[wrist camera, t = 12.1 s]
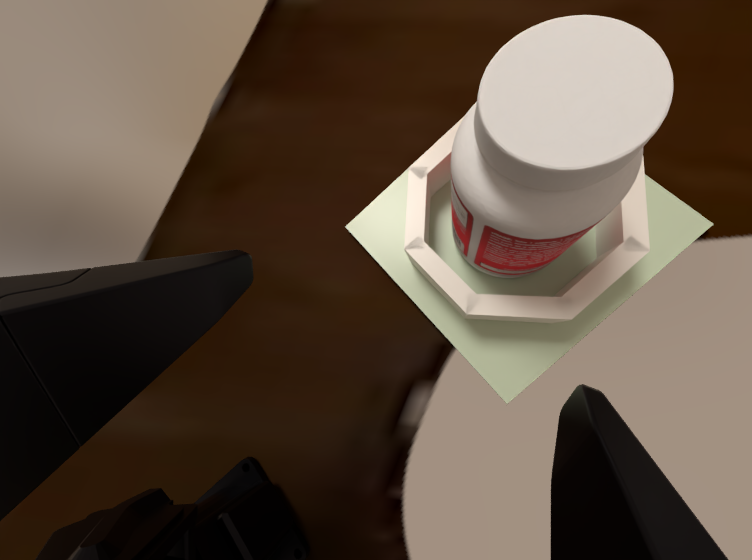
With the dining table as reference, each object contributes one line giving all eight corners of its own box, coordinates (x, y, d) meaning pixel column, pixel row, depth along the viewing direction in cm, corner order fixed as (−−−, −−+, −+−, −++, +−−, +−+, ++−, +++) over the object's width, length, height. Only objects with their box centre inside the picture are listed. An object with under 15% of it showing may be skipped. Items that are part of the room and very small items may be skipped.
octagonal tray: (505, 402, 18) (517, 416, 15) (348, 229, 22) (328, 208, 19) (705, 227, 18) (766, 199, 14) (506, 82, 22) (517, 33, 18)
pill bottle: (589, 225, 18) (779, 65, 8) (508, 302, 19) (583, 249, 8) (503, 158, 20) (560, -48, 10) (429, 229, 20) (405, 106, 10)
